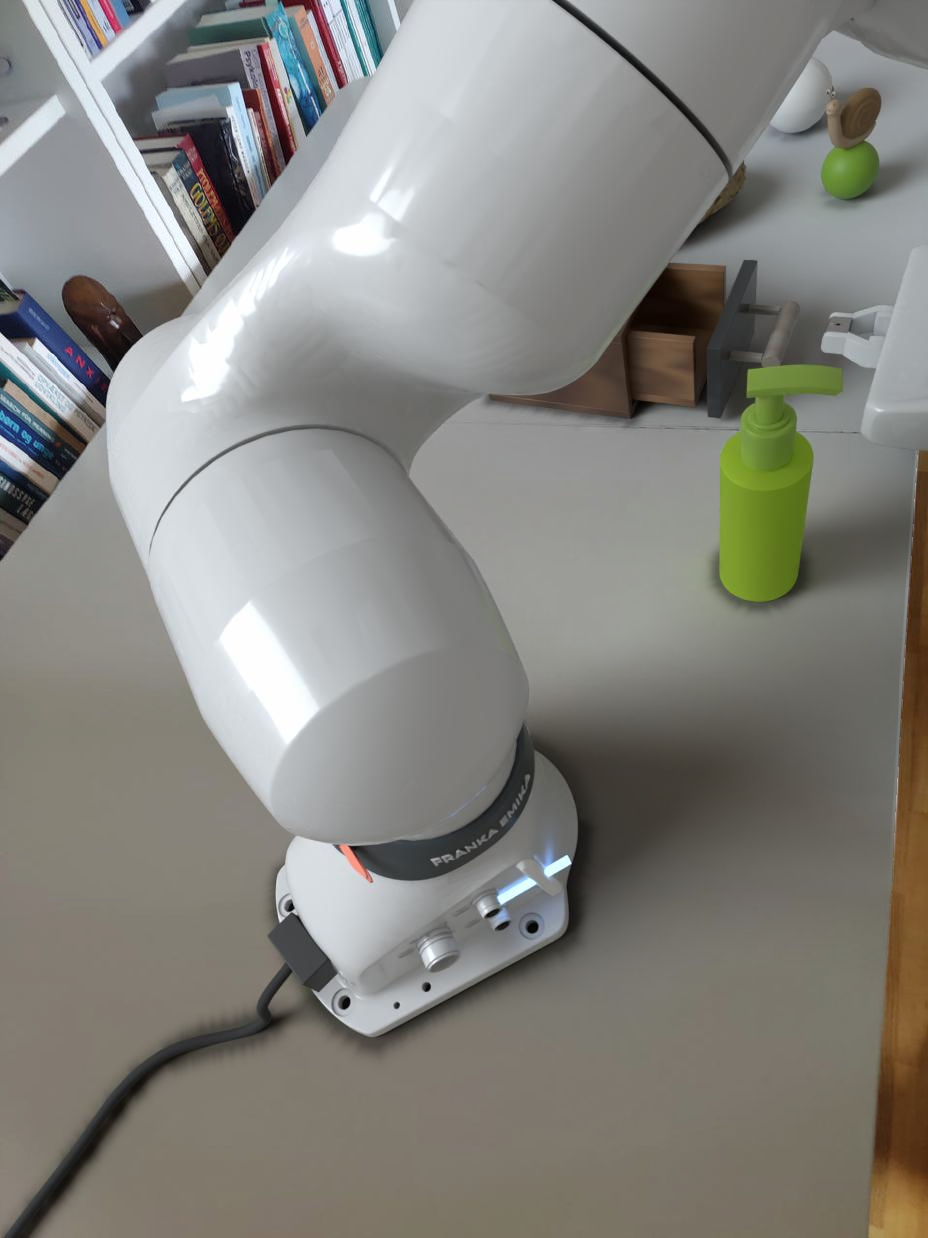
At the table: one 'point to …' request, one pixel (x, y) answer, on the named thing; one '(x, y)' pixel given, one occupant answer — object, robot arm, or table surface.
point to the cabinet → (592, 385)
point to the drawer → (700, 335)
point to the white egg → (805, 99)
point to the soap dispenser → (768, 483)
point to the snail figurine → (851, 144)
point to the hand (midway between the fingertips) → (825, 331)
